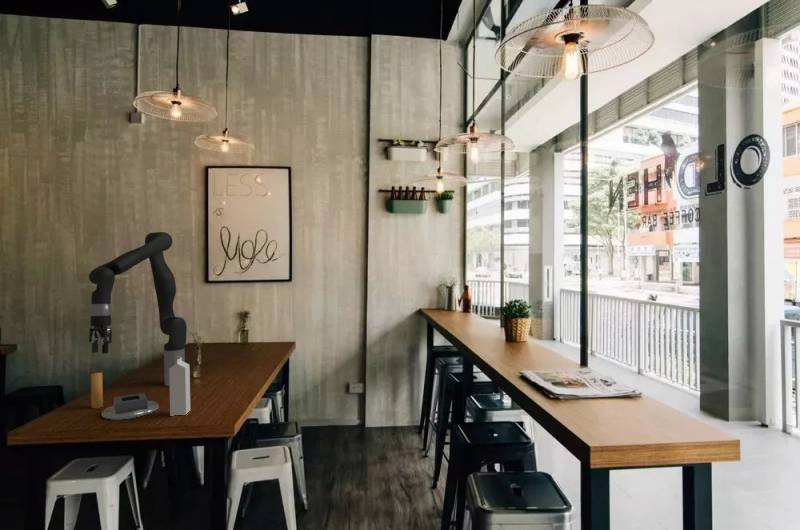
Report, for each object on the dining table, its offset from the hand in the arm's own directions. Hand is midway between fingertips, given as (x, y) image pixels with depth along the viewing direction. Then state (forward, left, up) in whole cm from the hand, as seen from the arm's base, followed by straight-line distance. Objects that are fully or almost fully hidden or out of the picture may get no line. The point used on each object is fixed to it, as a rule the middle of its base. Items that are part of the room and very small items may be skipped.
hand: (99, 353), depth 202 cm
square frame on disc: (-10, +19, -22) cm, 31 cm away
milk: (-26, +34, -22) cm, 48 cm away
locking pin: (+1, +3, -22) cm, 22 cm away
